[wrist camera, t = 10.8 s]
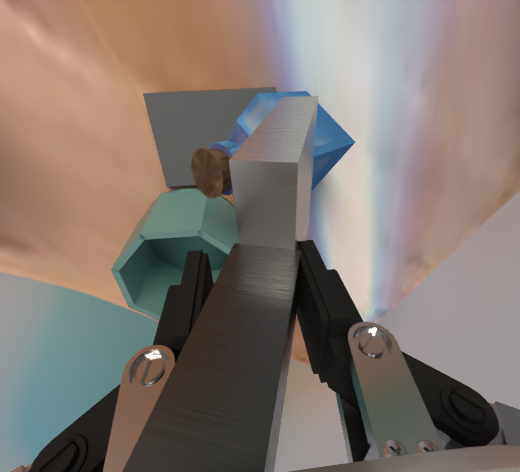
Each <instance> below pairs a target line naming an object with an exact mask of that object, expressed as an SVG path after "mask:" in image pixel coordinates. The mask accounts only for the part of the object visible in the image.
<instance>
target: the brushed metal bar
mask: <svg viewBox="0 0 520 472" xmlns="http://www.w3.org/2000/svg"><path fill="white" fill-rule="evenodd" d="M317 104H318V96H300V97H283V98H282V99H281V100H280V101H279V102H278V103H277V105H276V106H275V107H274V108H273V109H272V110H271V112H270V113H269V114H268V115H267V116H266V117H265V119H264V120H263V121H262V122H261V123H260V124H259V126H258V127H257V128H256V129H255V130H254V131H253V133H252V134H251V135H250V136H249V137H248V138H247V140H246V141H245V142H244V143H243V144H242V145H241V147H240V148H239V149H238V150H237V151H236V152H235V154H234V155H233V156H232V157H231V158H230V159H229V166H230V173H231V181H232V189H233V197H234V205H235V212H236V220H237V228H238V236H239V244H237V243H234V245H233V247H232V249H231V251H230V253H229V255H228V257H227V259H226V261H225V263H224V265H223V267H222V269H221V271H220V273H219V275H218V277H217V279H216V281H215V283H214V286H213V288H212V290H211V292H210V294H209V296H208V298H207V300H206V302H205V304H204V306H203V308H202V310H201V312H200V314H199V316H198V318H197V320H196V322H195V324H194V326H193V328H192V330H191V332H190V334H189V336H188V339H187V341H186V343H185V345H184V347H183V349H182V351H181V353H180V355H179V357H178V359H177V361H176V363H175V365H174V367H173V369H172V371H171V373H170V375H169V377H168V379H167V381H166V383H165V385H164V387H163V389H162V392H161V394H160V396H159V398H158V400H157V402H156V404H155V406H154V408H153V410H152V412H151V414H150V416H149V418H148V420H147V422H146V424H145V426H144V428H143V430H142V432H141V434H140V436H139V438H138V440H137V443H136V445H135V447H134V449H133V451H132V453H131V455H130V457H129V459H128V461H127V463H126V465H125V467H124V469H123V471H122V472H274V466H275V459H276V452H277V445H278V438H279V431H280V424H281V417H282V410H283V404H284V397H285V390H286V383H287V375H288V369H289V362H290V355H291V348H292V341H293V334H294V327H295V320H296V313H297V306H298V292H299V275H300V256H301V250H297V246H298V242H299V241H305V240H307V234H308V227H309V215H310V201H311V187H312V173H313V160H314V146H315V132H316V118H317Z"/></svg>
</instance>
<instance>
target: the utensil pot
mask: <svg viewBox="0 0 520 472" xmlns="http://www.w3.org/2000/svg"><path fill="white" fill-rule="evenodd" d="M234 243H237V244H239V236H238V228H237V220H236V212H235V207H234V205H233V204H232V203H230V202H229V201H228V200H227V199H225V198H224V197H222V196H221V195H220V196H218V197H216V198H214V199H213V198H208V197H207V196H205V195H204V194H203V193H202V192H201V191H200V190H199V189H198V188H180V189H176V190H172V191H170V192H167V193H161V194H160V196H159V197H158V198H157V199H156V200H155V202H154V203H153V204H152V205H151V206H150V208H149V210H148V211H147V212H146V214H145V215H144V216H143V218H142V219H141V220H140V221H139V223H138V224H137V226H136V227H135V229H134V231H133V232H132V234H131V236H130V238H129V239H128V241H127V243H126V244H125V246H124V248H123V250H122V251H121V253H120V255H119V256H118V258H117V260H116V262H115V263H114V265H113V267H112V268H111V271H112V273H113V275H114V277H115V279H116V281H117V283H118V285H119V288H120V290H121V292H122V294H123V296H124V298H125V300H126V302H127V304H128V306H129V307H130V308H132V309H135V310H137V311H139V312H141V313H144V314H146V315H148V316H151V317H153V318H155V319H157V320H160V317H161V314H162V310H163V306H164V303H165V299H166V295H167V292H168V289H169V287H170V285H179V284H181V279H182V275H183V270H184V266H185V261H186V257H187V253H188V251H196V250H202V251H203V253H208V256H209V261H210V267H211V272H212V277H213V282H214V283H215V281H216V279H217V277H218V275H219V273H220V271H221V269H222V267H223V265H224V263H225V261H226V259H227V257H228V255H229V253H230V251H231V249H232V247H233V245H234Z"/></svg>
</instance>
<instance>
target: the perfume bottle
mask: <svg viewBox="0 0 520 472" xmlns="http://www.w3.org/2000/svg"><path fill="white" fill-rule="evenodd" d="M300 96H310V94H309V93H308V92H307V91H300V92H277V93H258V94H257V96H256V97H255V98H254V99H253V101H252V102H251V103H250V104H249V106H248V107H247V108H246V110H245V111H244V112H243V113H242V115H241V116H240V117H239V118H238V120H237V121H236V123H235V126H234V128H233V130H232V133H231V135H230V137H229V140H228V141H222V142H217V143H213V144H211V145H210V146H209V147H208V148H207V149H206V148H200V149H197V150H196V151H194V153H193V155H192V159H191V171H192V176H193V179H194V181H195V184H196V185H197V187H198V189H199V190H200V191H201V192H202V193H203V194H204V195H205V196H207V197H208V198H213V199H214V198H216V197H218V196H220V195H221V194H223V195H231V194H233V189H232V181H231V173H230V166H229V159H230V158H231V157H232V156H233V155H234V154H235V152H236V151H237V150H238V149H239V148H240V147H241V145H242V144H243V143H244V142H245V141H246V140H247V138H248V137H249V136H250V135H251V134H252V133H253V131H254V130H255V129H256V128H257V127H258V126H259V124H260V123H261V122H262V121H263V120H264V119H265V117H266V116H267V115H268V114H269V113H270V112H271V110H272V109H273V108H274V107H275V106H276V105H277V103H278V102H279V101H280V100H281V99H282V98H283V97H300ZM354 143H355V141H354V140H353V139H352V138H351V137H350V136H349V135H348V134H347V133H346V132H345V131H344V130H343V129H342V128H341V127H340V126H339V125H338V124H337V123H336V122H335V120H334V119H333V118H332V117H331V116H330V115H329V114H328V113H327V112H326V111H325V110H324V109H323V108H322V107H321V106H320V105H319V104H317V118H316V132H315V146H314V160H313V173H312V187H311V191H312V190H313V189H314V188H315V186H316V185H317V184H318V183H319V182H320V181H321V180H322V179H323V178H324V176H325V175H326V174H327V173H328V172H329V171H330V170H331V169H332V168H333V166H334V165H335V164H336V163H337V162H338V161H339V160H340V159H341V157H342V156H343V155H344V154H345V153H346V152H347V151H348V150H349V149H350V147H351V146H352V145H353V144H354Z"/></svg>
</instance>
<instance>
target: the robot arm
mask: <svg viewBox="0 0 520 472" xmlns="http://www.w3.org/2000/svg"><path fill="white" fill-rule="evenodd" d="M297 250H301V256H300V275H299V292H298V306H297V316H298V320H299V323H300V327H301V331H302V334H303V338H304V342H305V345H306V349H307V353H308V356H309V360H310V364H311V367H312V371H313V373H314V374H319V378H320V381H321V383H323V382H327V384H328V387H329V388H331V389H332V390H333V391H335V392H336V398H337V403H338V408H339V413H340V418H341V424H342V429H343V434H344V440H345V445H346V450H347V456H348V461H349V463H346V464H339V465H332V466H325V467H318V468H311V469H304V470H297V471H290V472H520V410H519V409H516V408H513V407H510V406H508V405H505V404H502V403H499V402H495V403H494V404H491V403H488V402H487V401H486V400H485V399H484V398H483V397H482V396H481V395H480V394H479V393H478V392H476V391H474V390H473V389H471V388H470V387H468V386H466V385H464V384H462V383H461V382H459V381H457V380H455V379H453V378H451V377H449V376H447V375H445V374H443V373H441V372H440V371H438V370H436V369H434V368H432V367H430V366H428V365H426V364H424V363H423V362H421V361H419V360H417V359H415V358H413V357H411V356H409V355H408V354H405V353H404V352H402V351H401V350H400V348H399V345H398V343H397V341H396V339H395V338H394V336H393V335H392V334H391V333H390V332H389V331H388V330H387V329H385V328H384V327H382V326H380V325H378V324H375V323H371V322H363V320H362V318H361V316H360V314H359V312H358V310H357V308H356V307H355V305H354V303H353V301H352V299H351V297H350V295H349V293H348V291H347V289H346V287H345V286H344V284H343V282H342V280H341V278H340V276H339V274H338V272H337V271H336V270H335V269H332V270H327V269H326V267H325V265H324V262H323V260H322V258H321V256H320V254H319V252H318V250H317V248H316V246H315V244H314V242H313V240H305V241H299V242H298V246H297ZM213 286H214V282H213V277H212V272H211V267H210V261H209V256H208V253H203V251H202V250H196V251H188V253H187V257H186V261H185V266H184V270H183V275H182V279H181V284H179V285H170V287H169V289H168V292H167V295H166V299H165V303H164V306H163V310H162V314H161V317H160V321H159V325H158V328H157V332H156V336H155V339H154V343H153V345H152V346H149V347H146V348H144V349H142V350H141V351H139V352H137V353H136V354H135V355H134V356H133V357H132V358H131V359H130V360H129V362H128V363H127V365H126V366H125V369H124V372H123V375H122V380H121V384H120V385H118V386H117V387H116V388H115V389H113V390H112V391H111V392H110V393H109V394H107V395H106V396H105V397H104V398H103V399H101V400H100V401H99V402H98V403H96V404H95V405H94V406H93V407H92V408H90V409H89V410H88V411H87V412H86V413H85V414H83V415H82V416H81V417H80V418H78V419H77V420H76V421H75V422H74V423H73V424H71V425H70V426H69V427H67V428H66V429H65V430H64V431H63V432H61V433H60V434H59V435H58V436H57V437H55V438H54V439H53V440H52V441H51V442H50V443H49V444H48V445H47V446H46V447H45V448H44V449H43V450H42V451H41V452H40V453H39V455H38V456H37V458H36V459H35V460H34V462H33V463H32V464H30V465H28V466H27V467H24V466H23V465H21V466H20V467H18V468H16V469H15V470H13V471H12V472H122V471H123V469H124V467H125V465H126V463H127V461H128V459H129V457H130V455H131V453H132V451H133V449H134V447H135V445H136V443H137V440H138V438H139V436H140V434H141V432H142V430H143V428H144V426H145V424H146V422H147V420H148V418H149V416H150V414H151V412H152V410H153V408H154V406H155V404H156V402H157V400H158V398H159V396H160V394H161V392H162V389H163V387H164V385H165V383H166V381H167V379H168V377H169V375H170V373H171V371H172V369H173V367H174V365H175V363H176V361H177V359H178V357H179V355H180V353H181V351H182V349H183V347H184V345H185V343H186V341H187V339H188V336H189V334H190V332H191V330H192V328H193V326H194V324H195V322H196V320H197V318H198V316H199V314H200V312H201V310H202V308H203V306H204V304H205V302H206V300H207V298H208V296H209V294H210V292H211V290H212V288H213Z"/></svg>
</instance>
